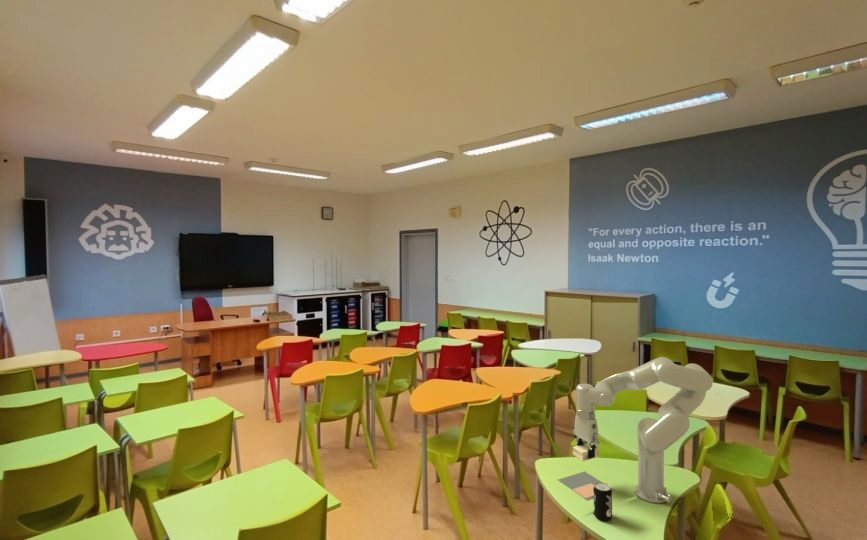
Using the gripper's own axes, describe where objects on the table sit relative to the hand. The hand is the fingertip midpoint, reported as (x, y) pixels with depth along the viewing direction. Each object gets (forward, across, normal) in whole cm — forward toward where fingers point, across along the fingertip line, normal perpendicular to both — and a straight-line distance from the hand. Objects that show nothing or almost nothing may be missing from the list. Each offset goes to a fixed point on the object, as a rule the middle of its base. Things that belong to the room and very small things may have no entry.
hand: (585, 454), depth 185 cm
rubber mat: (+14, 0, 0) cm, 14 cm away
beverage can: (+14, -19, +10) cm, 26 cm away
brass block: (+1, 0, 0) cm, 1 cm away
